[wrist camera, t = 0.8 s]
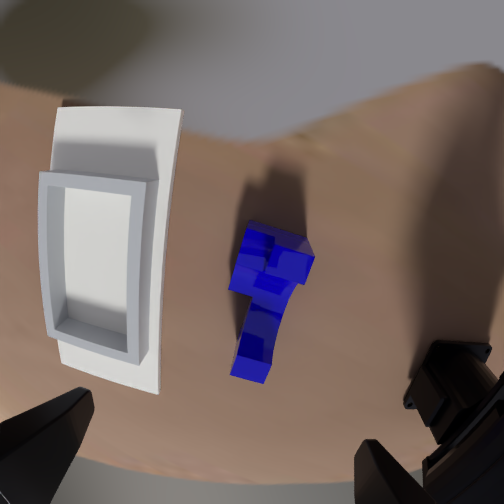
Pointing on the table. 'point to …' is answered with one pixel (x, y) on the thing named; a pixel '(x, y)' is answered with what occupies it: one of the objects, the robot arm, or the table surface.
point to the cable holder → (265, 292)
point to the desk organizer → (108, 238)
